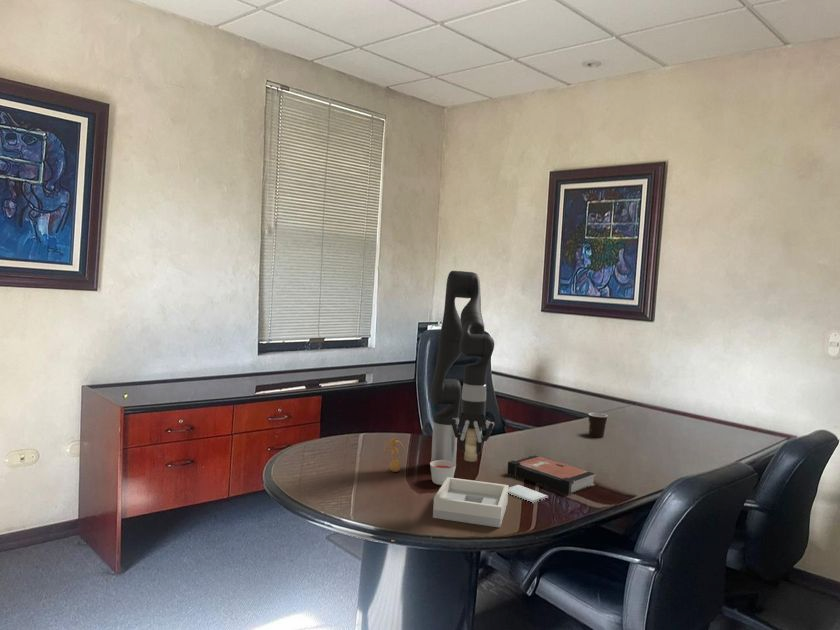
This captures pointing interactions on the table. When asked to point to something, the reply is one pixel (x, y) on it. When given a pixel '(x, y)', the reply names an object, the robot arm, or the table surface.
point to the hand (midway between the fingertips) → (470, 452)
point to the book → (551, 474)
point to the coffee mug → (597, 424)
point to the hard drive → (526, 493)
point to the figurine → (394, 465)
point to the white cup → (442, 471)
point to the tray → (471, 502)
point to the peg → (470, 445)
